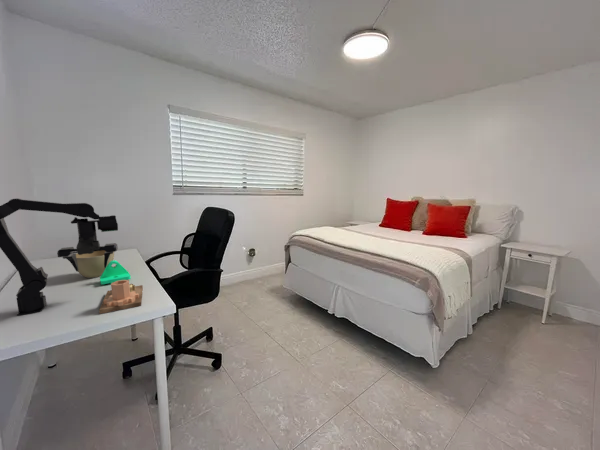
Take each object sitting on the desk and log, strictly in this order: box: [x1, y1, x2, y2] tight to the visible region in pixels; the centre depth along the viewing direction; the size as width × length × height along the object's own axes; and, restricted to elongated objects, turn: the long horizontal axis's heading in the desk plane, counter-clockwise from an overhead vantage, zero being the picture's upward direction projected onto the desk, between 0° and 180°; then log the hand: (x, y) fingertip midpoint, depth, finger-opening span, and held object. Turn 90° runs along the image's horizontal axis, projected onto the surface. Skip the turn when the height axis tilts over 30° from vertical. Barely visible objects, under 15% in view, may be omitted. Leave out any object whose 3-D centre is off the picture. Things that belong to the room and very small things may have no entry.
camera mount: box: [99, 259, 132, 285], centre depth 125 cm, size 12×8×10 cm, turn 131°
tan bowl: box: [75, 250, 115, 279], centre depth 134 cm, size 18×18×12 cm
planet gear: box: [103, 279, 139, 307], centre depth 99 cm, size 11×11×8 cm
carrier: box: [98, 283, 144, 315], centre depth 104 cm, size 13×21×6 cm, turn 31°
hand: (91, 269), depth 106 cm, fingers open, 9 cm apart
